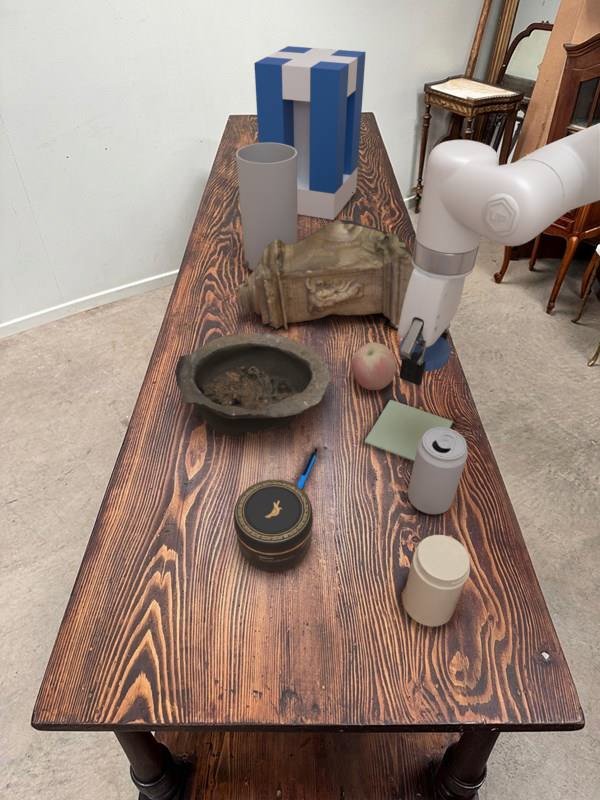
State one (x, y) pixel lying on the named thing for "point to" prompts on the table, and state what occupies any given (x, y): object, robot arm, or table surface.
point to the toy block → (314, 120)
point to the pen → (307, 469)
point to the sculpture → (329, 276)
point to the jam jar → (436, 580)
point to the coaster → (403, 429)
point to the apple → (373, 366)
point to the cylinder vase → (267, 197)
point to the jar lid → (433, 353)
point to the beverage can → (437, 470)
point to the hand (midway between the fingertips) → (421, 365)
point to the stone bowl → (251, 382)
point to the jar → (273, 525)
